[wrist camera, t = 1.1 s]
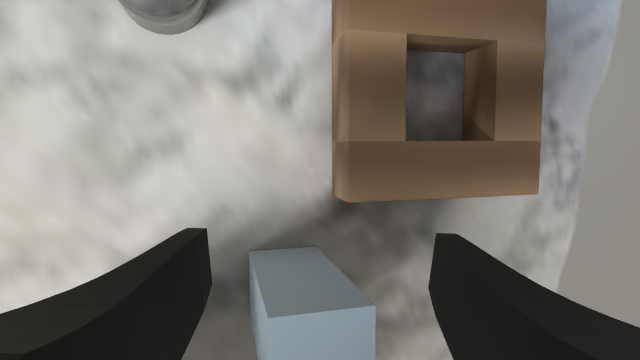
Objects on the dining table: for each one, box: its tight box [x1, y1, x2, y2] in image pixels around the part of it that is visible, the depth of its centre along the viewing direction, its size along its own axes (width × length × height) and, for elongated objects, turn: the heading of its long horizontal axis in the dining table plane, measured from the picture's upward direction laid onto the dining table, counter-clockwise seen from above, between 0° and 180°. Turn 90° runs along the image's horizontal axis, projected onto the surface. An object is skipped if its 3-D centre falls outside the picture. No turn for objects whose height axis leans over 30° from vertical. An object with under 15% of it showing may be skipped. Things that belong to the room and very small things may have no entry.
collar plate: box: [332, 0, 546, 203], centre depth 22 cm, size 12×12×3 cm
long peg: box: [249, 246, 376, 360], centre depth 18 cm, size 4×4×9 cm
